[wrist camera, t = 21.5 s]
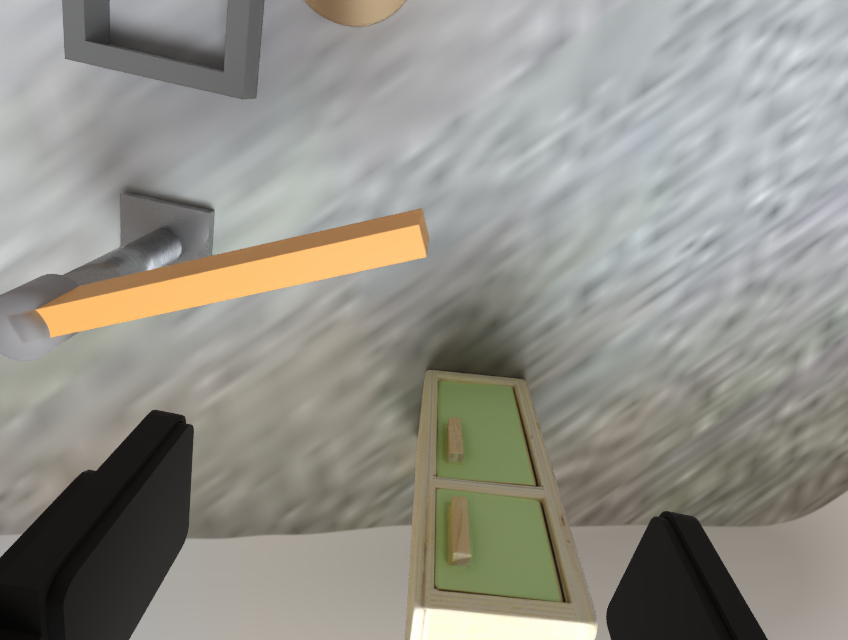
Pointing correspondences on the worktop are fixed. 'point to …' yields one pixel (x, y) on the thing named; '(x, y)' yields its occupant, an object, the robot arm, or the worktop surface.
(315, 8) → the coaster
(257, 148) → the worktop surface
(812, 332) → the worktop surface
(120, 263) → the post
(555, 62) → the worktop surface
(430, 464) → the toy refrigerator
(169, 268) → the orange wooden bar
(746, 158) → the worktop surface
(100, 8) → the socket
